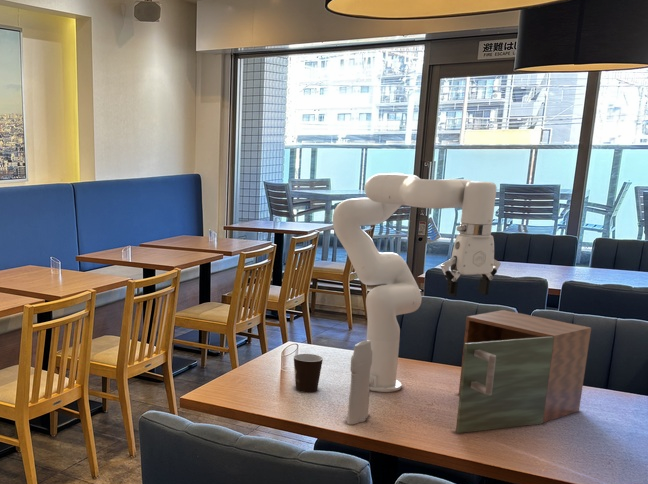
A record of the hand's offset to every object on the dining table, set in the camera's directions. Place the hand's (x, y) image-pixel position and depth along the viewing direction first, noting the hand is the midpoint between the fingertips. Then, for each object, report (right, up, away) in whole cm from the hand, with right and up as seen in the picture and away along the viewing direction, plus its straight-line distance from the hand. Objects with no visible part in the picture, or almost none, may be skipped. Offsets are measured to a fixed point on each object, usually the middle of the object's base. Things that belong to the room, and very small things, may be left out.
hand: (467, 294), depth 191 cm
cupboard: (+21, -30, +16) cm, 40 cm away
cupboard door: (+8, -36, -6) cm, 37 cm away
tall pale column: (-28, -34, +4) cm, 44 cm away
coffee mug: (-36, -27, +30) cm, 54 cm away
